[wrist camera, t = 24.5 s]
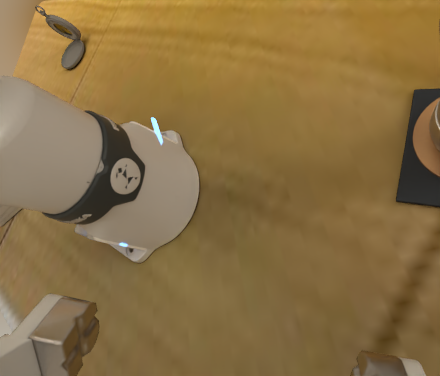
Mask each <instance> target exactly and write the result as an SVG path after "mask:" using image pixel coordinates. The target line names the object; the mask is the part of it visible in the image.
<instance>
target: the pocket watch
mask: <svg viewBox="0 0 440 376" xmlns="http://www.w3.org/2000/svg"><path fill="white" fill-rule="evenodd" d="M37 7H40V6H36V7H35V8H36V10H37ZM40 8H41V9H42V10H43V11H42V10H41V11H40V12H39V11H38V10H37V11H38V12H39V13H40V14H41V15H43V16H45V17H46V22H47V24H48V25H49V26H50V27H51V28H52V29H53V30H55V31H56V32H57V33H59V34H61V35H62V36H64V37H67V38H69V39H72V40H74V41H73V42H72V43H70V44H69V46H68V47H67V48H66V50H65V52H64V54H63V56H62V62H61V63H62V66H63V67H64V68H66V69H70V68H73V67H74V66H75V65H76V64H77V63H78V62H79V61H80V59H81V57H82V55H83V52H84V44H83V42H82V41H81V39H80V38H81V33H80V31H79V30H78V29H77V28H76V27H75V26H74V25H72V24H71V23H69V22H68V21H66V20H64V19H62V18H60V17H58V16H55V15H47V14H46V13H45V10H44V9H43V8H42V7H40ZM68 30H69V31H68Z"/></svg>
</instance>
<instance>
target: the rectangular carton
mask: <svg viewBox="0 0 440 376" xmlns="http://www.w3.org/2000/svg"><path fill="white" fill-rule="evenodd" d="M21 209H22V208H17V207H11V206H5V205H0V226H3V225H4V224H5V223H6V222H7V221H8V220H9V219H10V218H12V217H13V216H14V215H15V214H16V213H17V212H18V211H19V210H21Z"/></svg>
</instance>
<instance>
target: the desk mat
mask: <svg viewBox="0 0 440 376" xmlns="http://www.w3.org/2000/svg"><path fill="white" fill-rule="evenodd" d="M438 98H440V89H420V90H414V95H413V101H412V107H411V113H410V119H409V125H408V131H407V137H406V143H405V149H404V155H403V161H402V167H401V173H400V179H399V185H398V191H397V197H396V201H397V202H403V203H411V204H419V205H427V206H434V207H440V177H438V176H436V175H434V174H433V173H431V172H430V171H429V170H428V169H427V168H425V167H424V165H423V164H422V163H421V162H420V160H419V159H418V157H417V155H416V153H415V150H414V146H413V131H414V127H415V124H416V122H417V120H418V118H419V117H420V115H421V114H422V112H423V111H424V110H425V109H426V108H427V107H428V106H429V105H430V104H431V103H432V102H434V101H435V100H436V99H438Z"/></svg>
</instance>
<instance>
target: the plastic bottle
mask: <svg viewBox="0 0 440 376" xmlns="http://www.w3.org/2000/svg"><path fill="white" fill-rule="evenodd" d="M439 33H440V21H439ZM429 131H430V135H431V138H432V140H433V143H434V144H435V146H436V148H437V149H438V150H439V151H440V100H439V101H438V103H437V105H436V107H435V108H434V111H433V113H432V115H431V119H430V122H429Z"/></svg>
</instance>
